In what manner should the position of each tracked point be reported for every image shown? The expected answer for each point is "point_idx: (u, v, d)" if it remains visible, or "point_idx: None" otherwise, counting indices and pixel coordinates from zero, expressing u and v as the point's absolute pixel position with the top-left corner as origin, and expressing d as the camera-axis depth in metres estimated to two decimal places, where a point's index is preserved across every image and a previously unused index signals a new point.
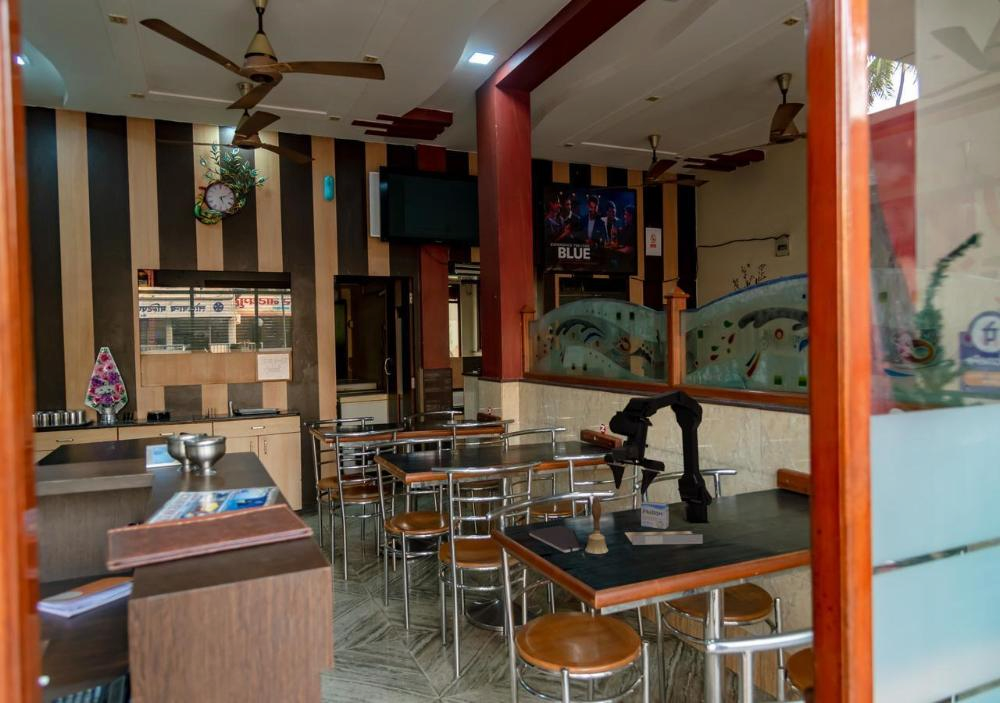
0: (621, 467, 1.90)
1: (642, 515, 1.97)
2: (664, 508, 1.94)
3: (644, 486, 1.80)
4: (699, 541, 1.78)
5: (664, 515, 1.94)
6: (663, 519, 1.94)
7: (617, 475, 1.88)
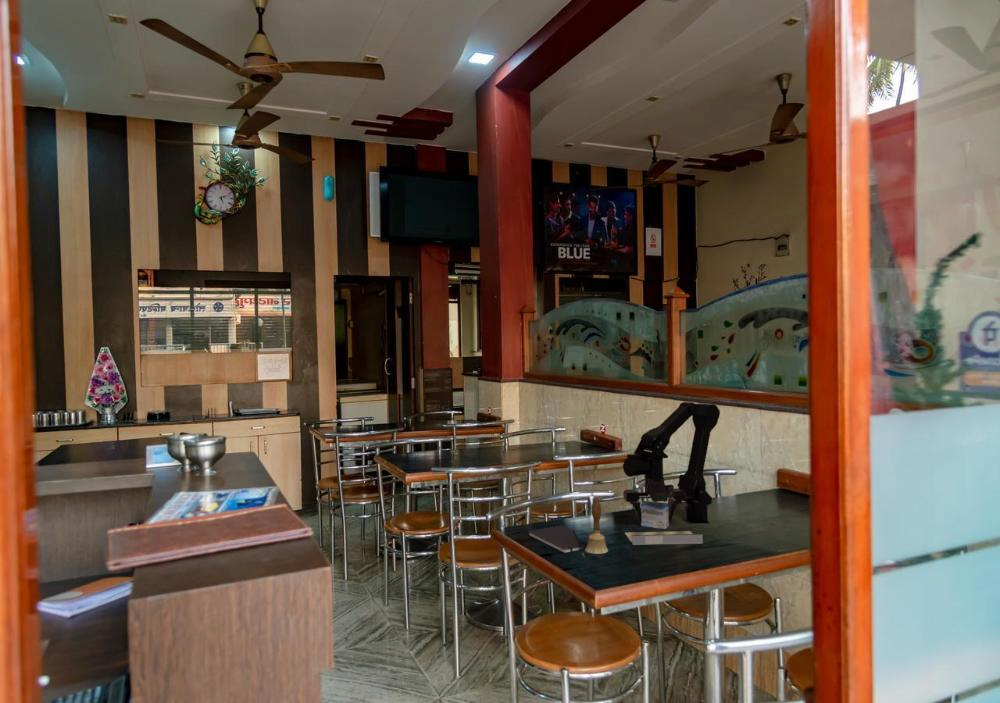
0: None
1: (642, 515, 1.97)
2: (664, 508, 1.94)
3: None
4: (699, 541, 1.78)
5: (664, 515, 1.94)
6: (663, 519, 1.94)
7: None
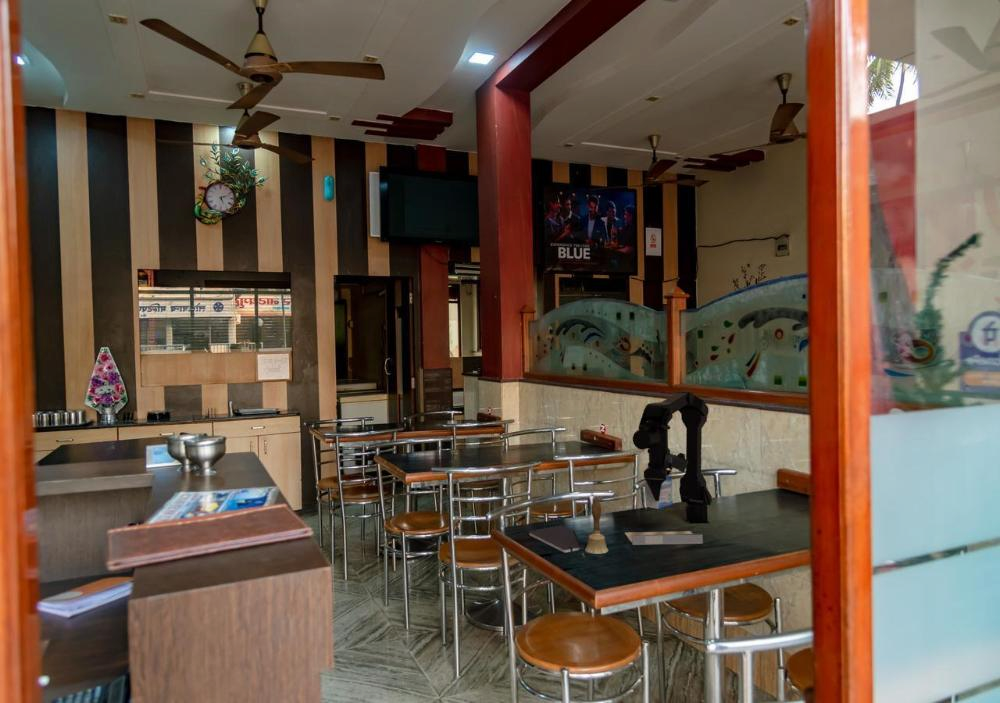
0: None
1: None
2: (671, 479, 1.88)
3: None
4: (699, 541, 1.78)
5: (671, 486, 1.88)
6: (671, 490, 1.88)
7: None
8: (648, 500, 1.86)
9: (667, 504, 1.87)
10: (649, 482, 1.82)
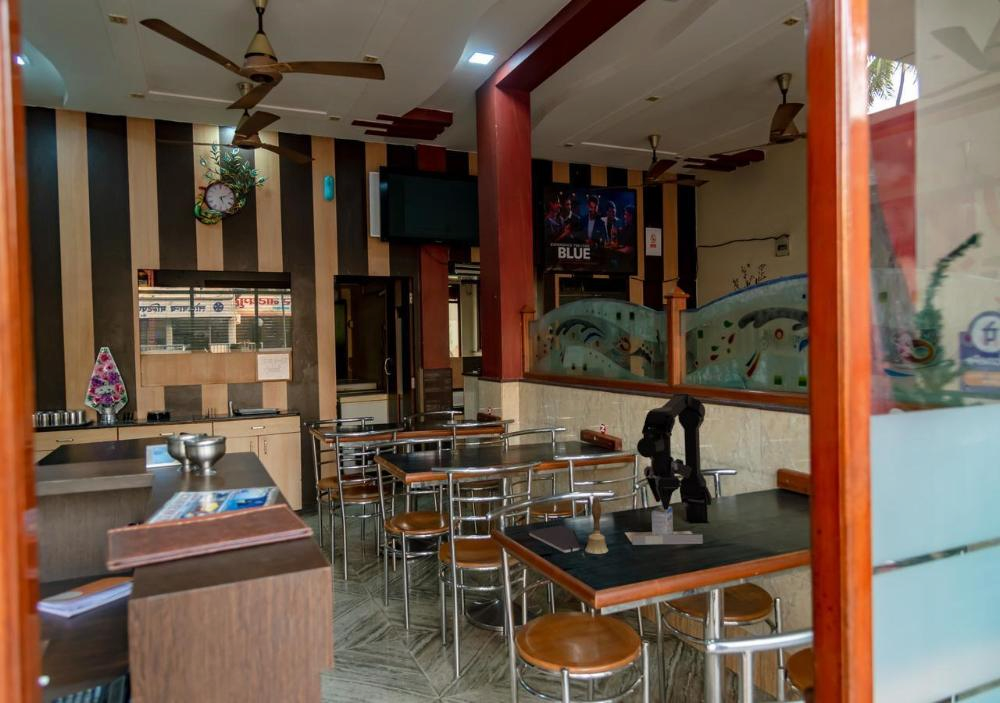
0: None
1: (667, 525, 1.80)
2: None
3: None
4: (699, 541, 1.78)
5: (672, 516, 1.86)
6: (672, 521, 1.86)
7: None
8: (656, 534, 1.81)
9: None
10: (660, 491, 1.78)
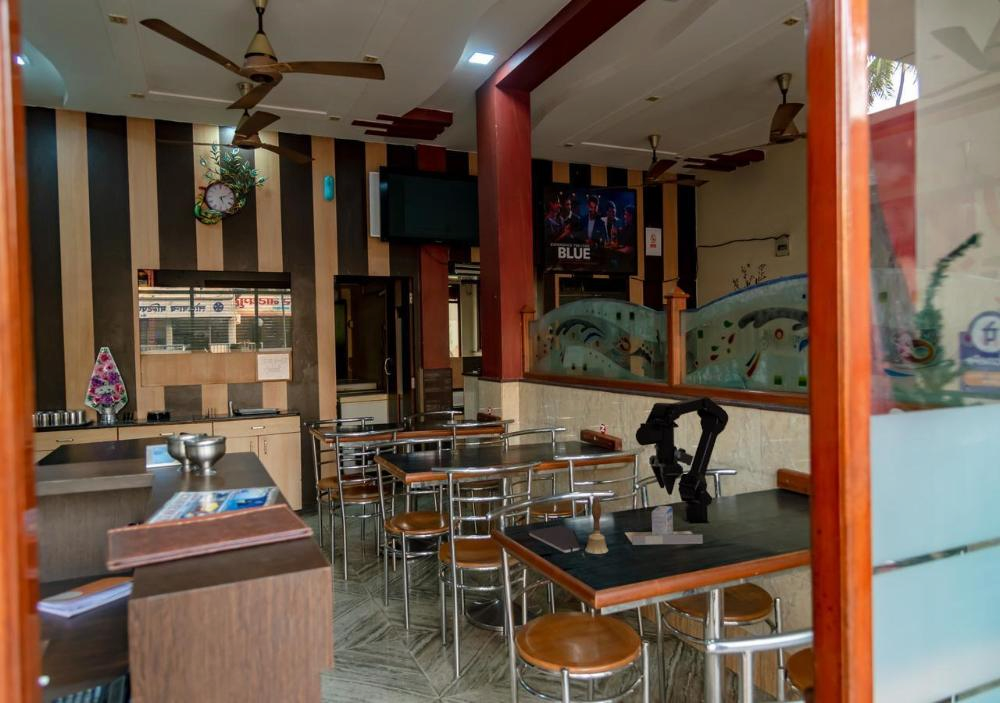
0: None
1: (667, 525, 1.80)
2: None
3: None
4: (699, 541, 1.78)
5: (672, 516, 1.86)
6: (672, 521, 1.86)
7: None
8: (656, 534, 1.81)
9: None
10: (665, 477, 1.92)
